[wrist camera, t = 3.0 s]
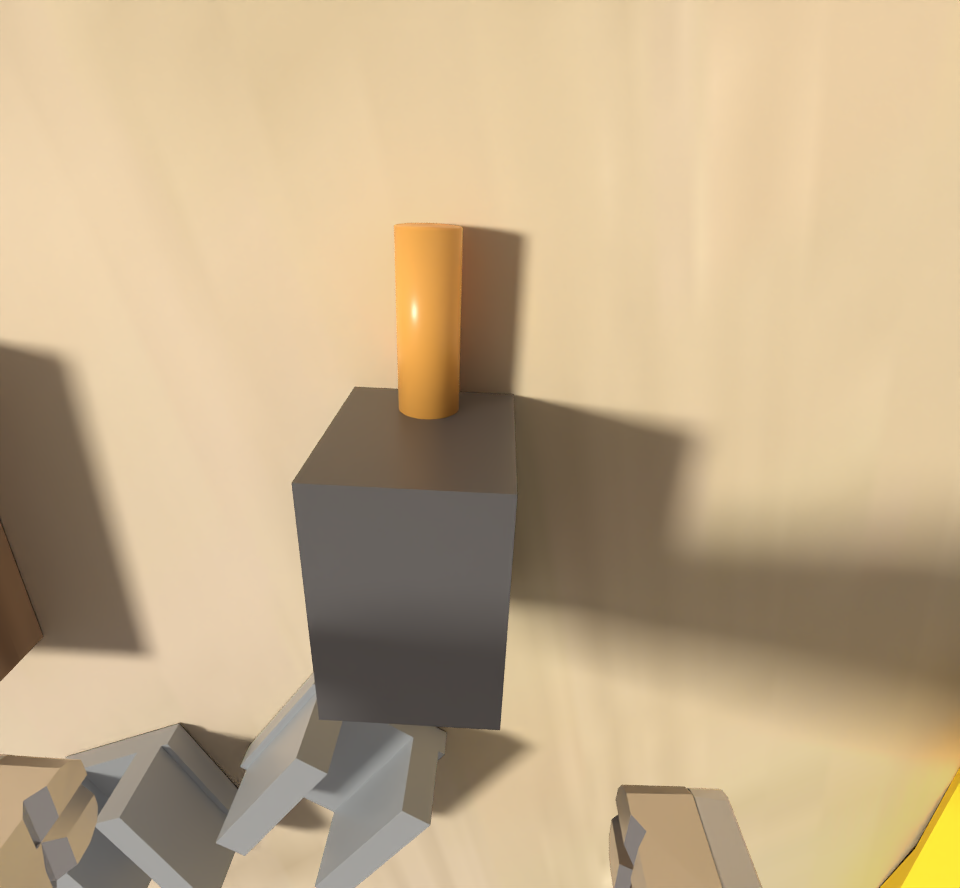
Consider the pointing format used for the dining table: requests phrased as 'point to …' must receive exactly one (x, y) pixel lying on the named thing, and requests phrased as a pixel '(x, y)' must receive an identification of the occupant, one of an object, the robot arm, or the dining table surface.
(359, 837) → the clip
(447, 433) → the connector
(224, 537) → the dining table surface
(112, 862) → the clip
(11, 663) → the holder
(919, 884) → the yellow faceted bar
